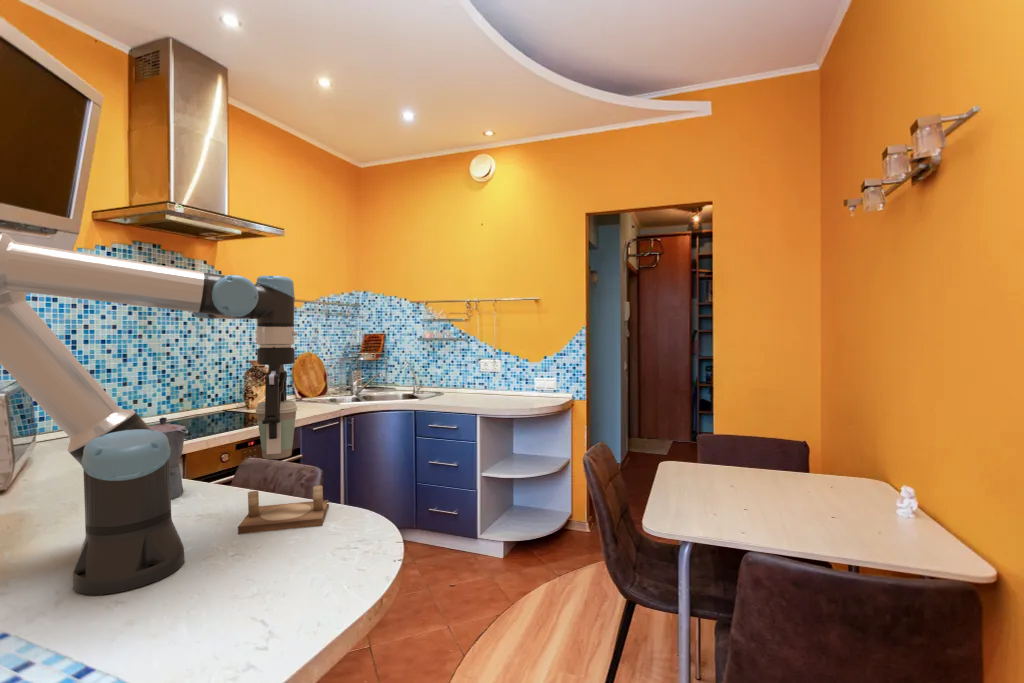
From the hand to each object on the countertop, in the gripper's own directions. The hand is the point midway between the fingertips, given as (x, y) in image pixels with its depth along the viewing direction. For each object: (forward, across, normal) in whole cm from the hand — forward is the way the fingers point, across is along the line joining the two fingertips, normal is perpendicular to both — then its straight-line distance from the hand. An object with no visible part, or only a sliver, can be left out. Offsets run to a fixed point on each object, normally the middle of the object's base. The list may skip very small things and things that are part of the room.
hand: (276, 449), depth 111 cm
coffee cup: (+2, 0, 0) cm, 2 cm away
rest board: (+15, -3, -2) cm, 15 cm away
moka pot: (+15, +24, +30) cm, 41 cm away
